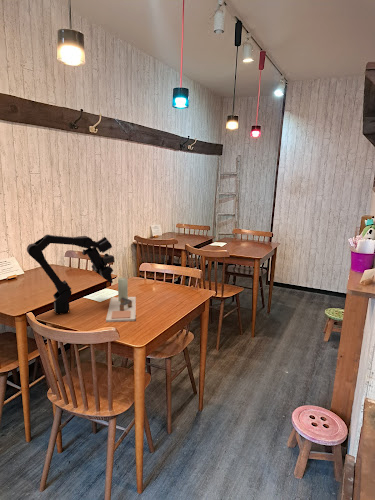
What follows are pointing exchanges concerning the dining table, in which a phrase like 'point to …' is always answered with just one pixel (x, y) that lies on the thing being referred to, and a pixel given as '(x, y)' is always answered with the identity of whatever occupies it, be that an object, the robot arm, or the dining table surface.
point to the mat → (120, 314)
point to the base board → (116, 307)
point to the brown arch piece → (125, 303)
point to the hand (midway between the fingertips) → (109, 280)
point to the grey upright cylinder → (122, 288)
